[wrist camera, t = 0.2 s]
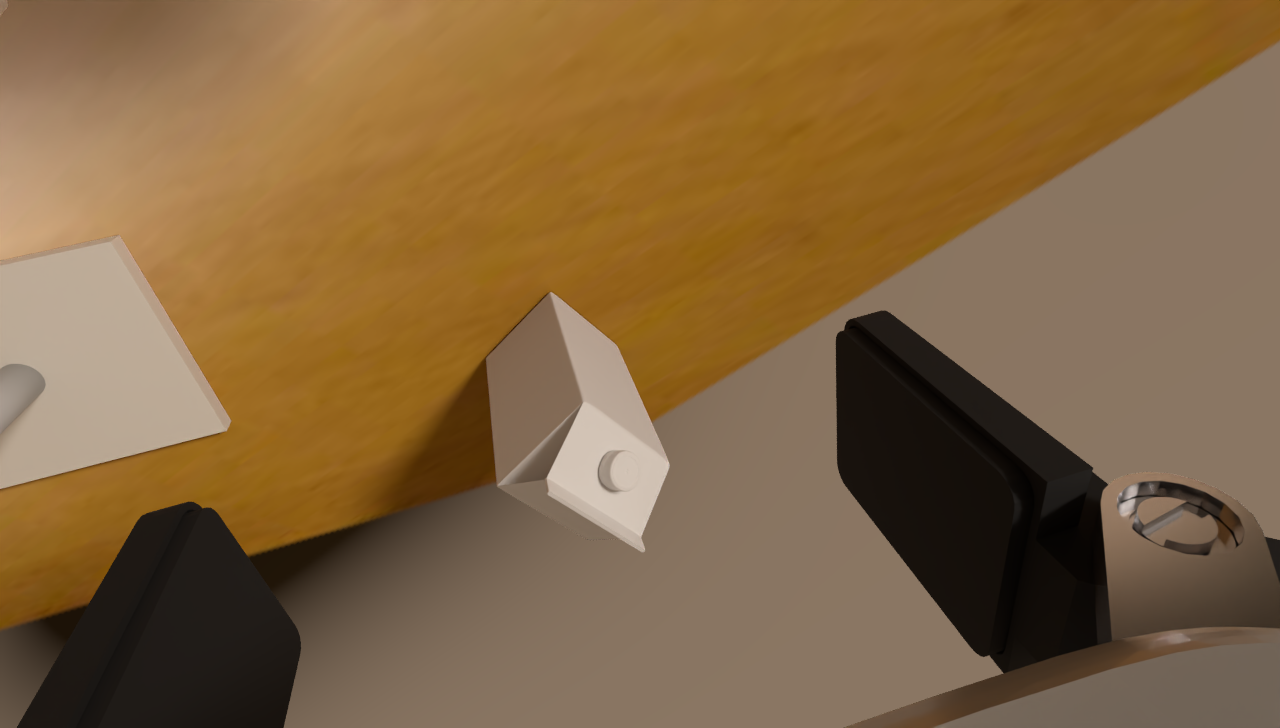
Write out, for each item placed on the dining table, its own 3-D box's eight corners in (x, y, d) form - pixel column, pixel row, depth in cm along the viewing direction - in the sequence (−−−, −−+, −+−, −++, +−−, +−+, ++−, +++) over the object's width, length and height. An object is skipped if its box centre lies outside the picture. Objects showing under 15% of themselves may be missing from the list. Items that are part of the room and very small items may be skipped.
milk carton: (555, 406, 53) (599, 592, 37) (484, 357, 49) (499, 538, 33) (617, 345, 52) (691, 509, 36) (549, 289, 48) (598, 445, 32)
